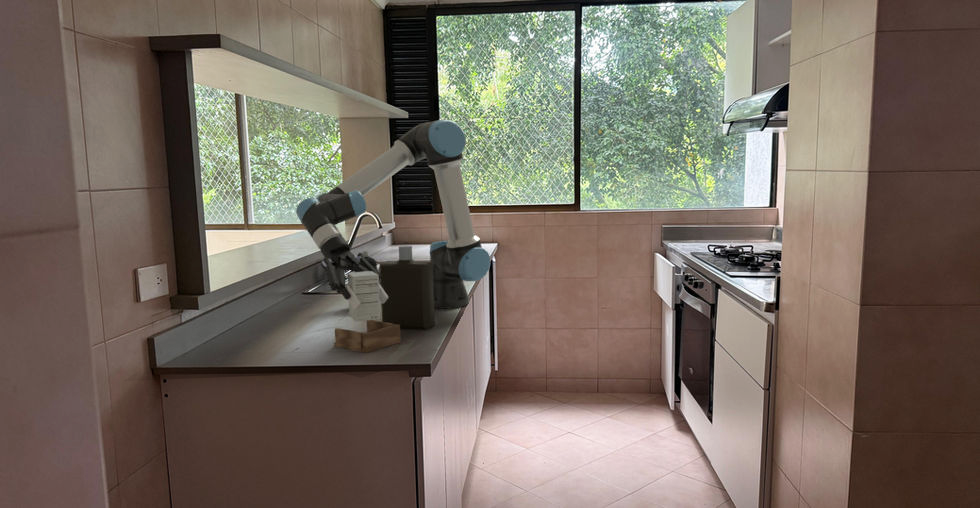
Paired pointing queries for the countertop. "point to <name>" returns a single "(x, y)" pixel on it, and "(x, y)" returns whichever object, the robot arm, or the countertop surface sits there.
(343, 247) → the robot arm
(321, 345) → the countertop surface
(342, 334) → the u rest
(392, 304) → the bottle
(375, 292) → the supplement box
